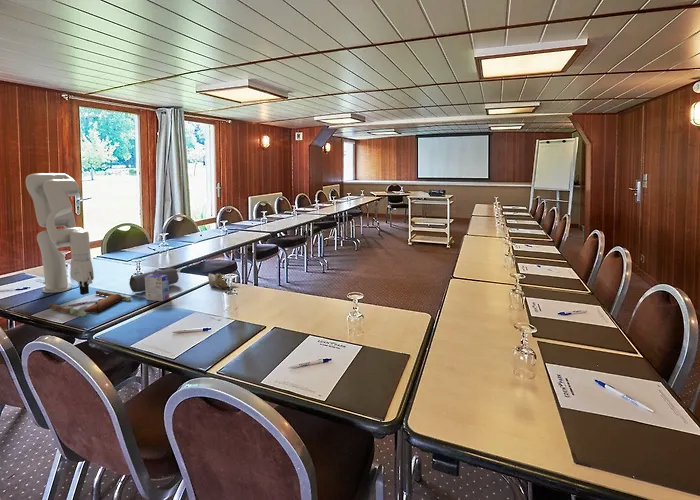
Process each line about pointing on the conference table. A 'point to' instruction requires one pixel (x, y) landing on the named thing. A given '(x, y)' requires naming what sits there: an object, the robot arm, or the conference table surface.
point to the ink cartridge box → (157, 287)
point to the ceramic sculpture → (217, 280)
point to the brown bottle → (104, 303)
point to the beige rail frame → (80, 312)
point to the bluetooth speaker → (139, 280)
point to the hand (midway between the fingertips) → (84, 293)
